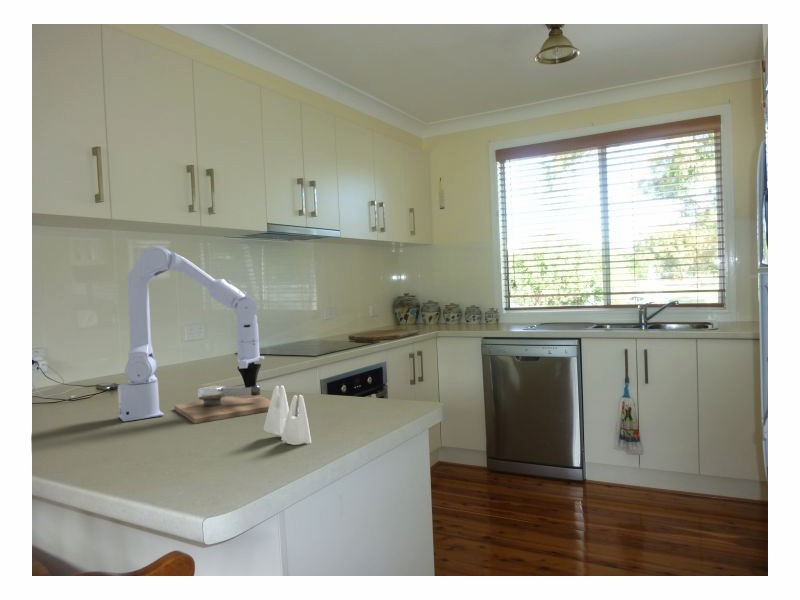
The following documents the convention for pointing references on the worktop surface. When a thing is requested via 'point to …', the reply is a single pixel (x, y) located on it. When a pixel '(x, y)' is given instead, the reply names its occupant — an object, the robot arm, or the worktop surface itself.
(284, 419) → the white slotted stand
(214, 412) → the post board
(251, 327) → the robot arm
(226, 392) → the grey lever with knob
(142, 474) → the worktop surface
